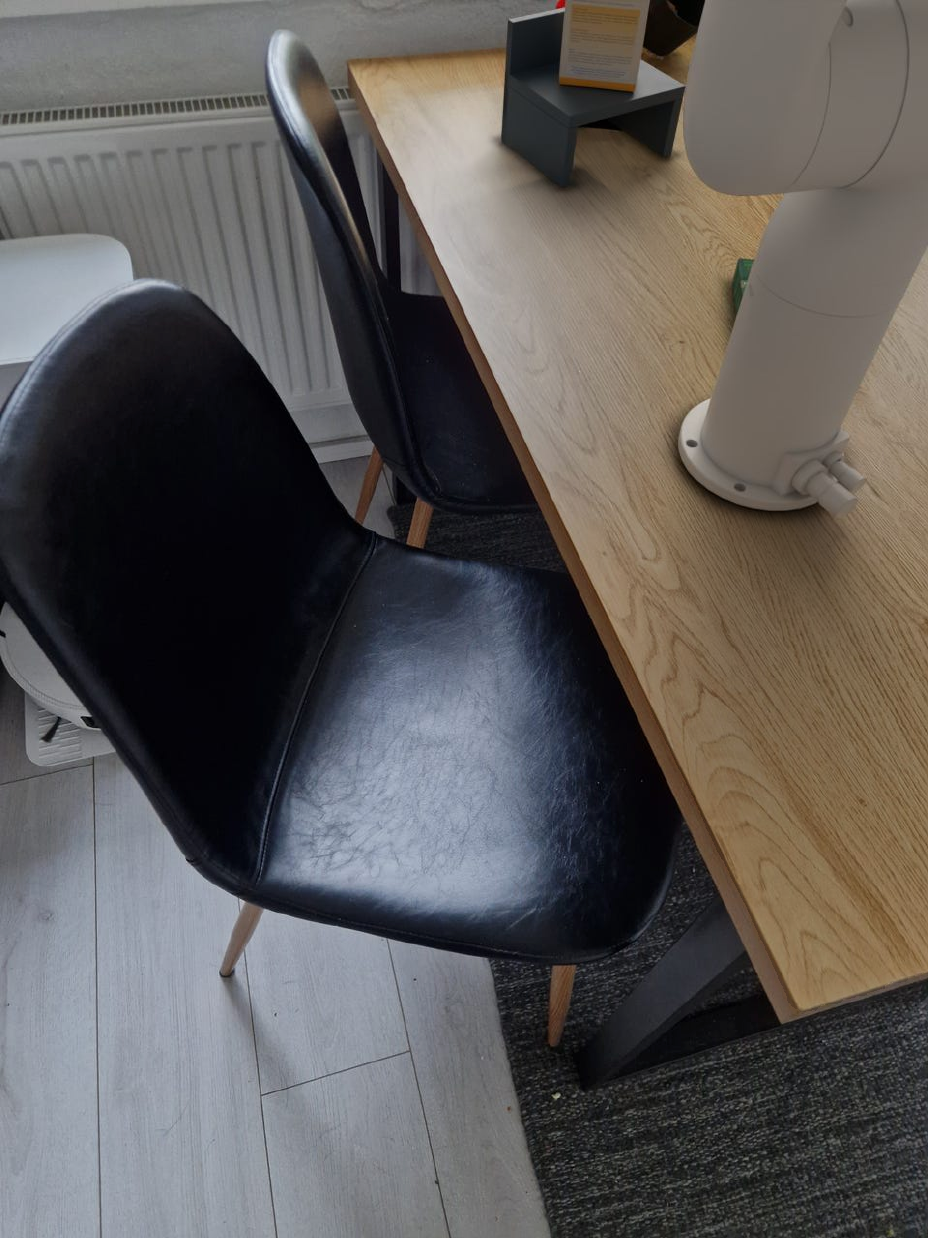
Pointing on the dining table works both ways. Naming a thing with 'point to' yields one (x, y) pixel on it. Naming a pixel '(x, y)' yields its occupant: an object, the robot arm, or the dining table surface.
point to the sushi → (671, 25)
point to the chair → (574, 100)
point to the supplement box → (602, 43)
